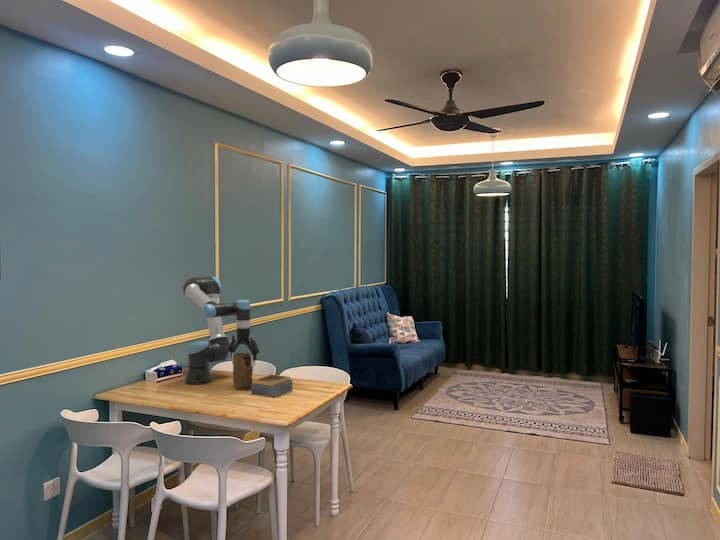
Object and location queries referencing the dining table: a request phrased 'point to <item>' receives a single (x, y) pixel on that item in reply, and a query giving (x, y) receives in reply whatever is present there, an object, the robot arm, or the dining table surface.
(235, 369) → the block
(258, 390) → the grey square tray
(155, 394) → the dining table surface
